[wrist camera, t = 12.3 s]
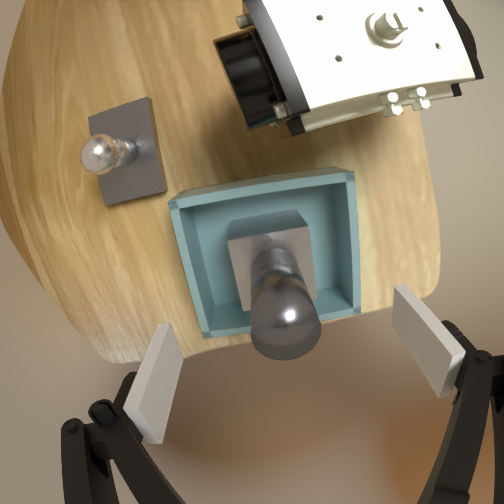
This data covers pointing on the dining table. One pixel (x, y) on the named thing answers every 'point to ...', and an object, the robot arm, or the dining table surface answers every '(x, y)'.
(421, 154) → the dining table surface
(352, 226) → the bin
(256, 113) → the ball valve
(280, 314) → the block with domed cylinder
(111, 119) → the stud plate
